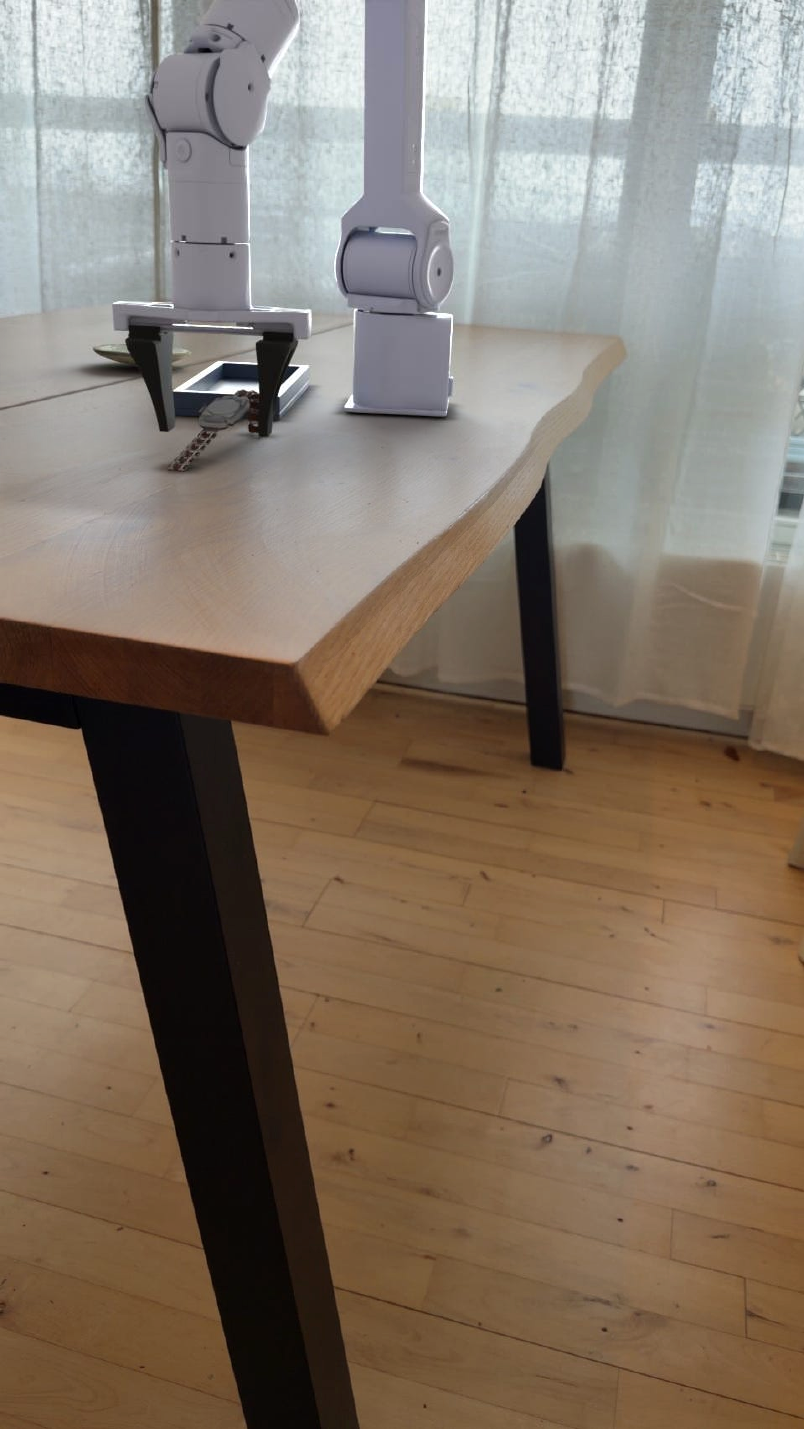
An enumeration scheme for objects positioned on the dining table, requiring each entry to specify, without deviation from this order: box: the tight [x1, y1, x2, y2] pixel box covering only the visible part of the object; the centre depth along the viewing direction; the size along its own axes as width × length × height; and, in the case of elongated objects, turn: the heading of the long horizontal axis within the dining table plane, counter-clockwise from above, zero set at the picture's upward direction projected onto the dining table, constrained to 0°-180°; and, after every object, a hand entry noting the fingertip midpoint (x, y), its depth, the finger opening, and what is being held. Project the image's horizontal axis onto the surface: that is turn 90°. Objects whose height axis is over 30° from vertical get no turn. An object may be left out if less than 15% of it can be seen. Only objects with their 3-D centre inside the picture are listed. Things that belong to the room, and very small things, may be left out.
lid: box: [92, 343, 192, 367], centre depth 126 cm, size 11×10×5 cm
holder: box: [172, 361, 310, 421], centre depth 110 cm, size 20×10×2 cm, turn 177°
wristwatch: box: [167, 389, 259, 472], centre depth 89 cm, size 4×14×5 cm, turn 162°
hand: (216, 432), depth 88 cm, fingers open, 7 cm apart
